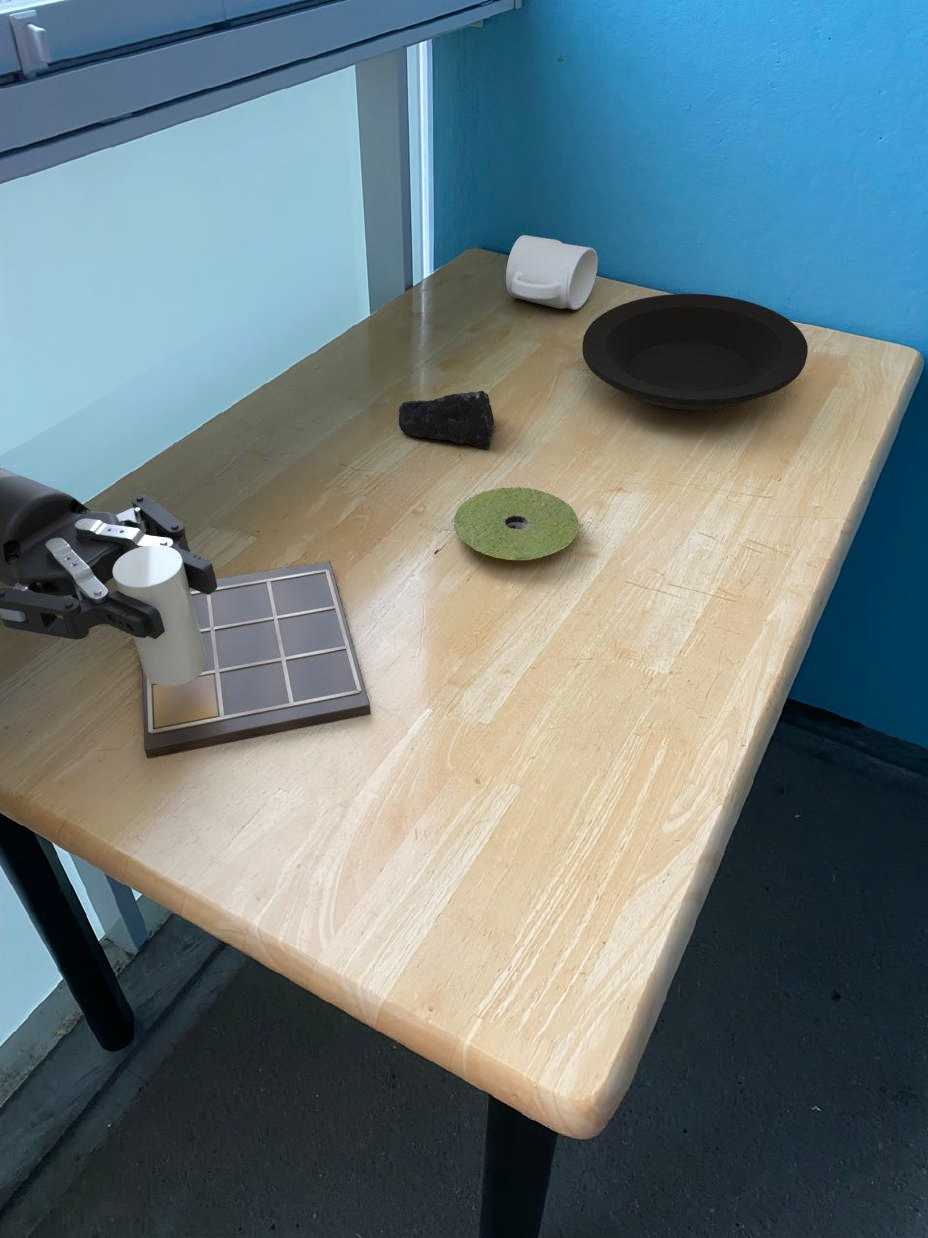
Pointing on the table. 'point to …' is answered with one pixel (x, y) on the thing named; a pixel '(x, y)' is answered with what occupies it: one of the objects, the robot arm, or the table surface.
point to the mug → (551, 272)
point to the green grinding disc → (516, 523)
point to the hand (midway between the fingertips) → (185, 602)
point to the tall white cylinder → (164, 613)
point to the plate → (694, 350)
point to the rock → (450, 418)
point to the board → (261, 663)
